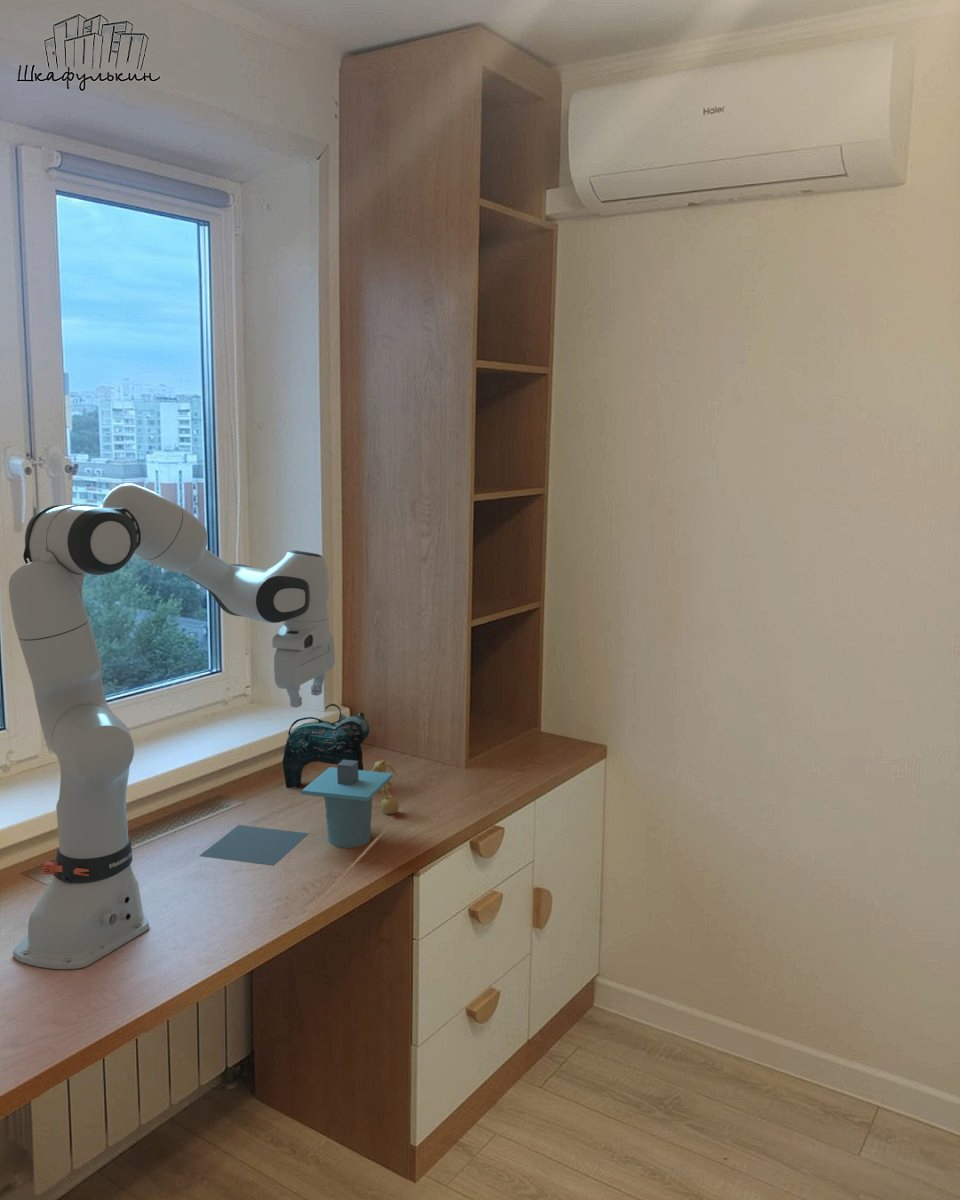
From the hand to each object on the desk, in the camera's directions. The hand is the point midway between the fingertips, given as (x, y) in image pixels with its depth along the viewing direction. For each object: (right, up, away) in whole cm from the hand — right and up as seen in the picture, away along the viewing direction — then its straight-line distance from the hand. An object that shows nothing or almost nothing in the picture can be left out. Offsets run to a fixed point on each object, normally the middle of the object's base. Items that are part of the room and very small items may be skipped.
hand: (306, 700), depth 213 cm
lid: (+8, -17, +3) cm, 19 cm away
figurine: (+14, -27, +20) cm, 36 cm away
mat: (-11, -30, +2) cm, 32 cm away
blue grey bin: (+8, -29, +5) cm, 31 cm away
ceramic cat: (-1, -24, +35) cm, 43 cm away
